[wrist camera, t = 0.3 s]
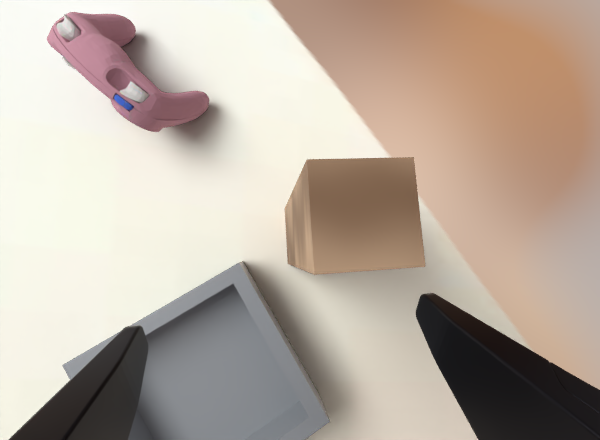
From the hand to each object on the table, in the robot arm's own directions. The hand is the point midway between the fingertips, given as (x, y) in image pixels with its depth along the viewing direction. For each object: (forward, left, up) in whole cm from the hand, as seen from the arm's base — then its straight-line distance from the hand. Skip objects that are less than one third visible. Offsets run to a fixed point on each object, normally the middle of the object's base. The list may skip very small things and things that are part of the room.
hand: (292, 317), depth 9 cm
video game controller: (+19, +1, -14) cm, 23 cm away
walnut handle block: (+2, -5, -14) cm, 15 cm away
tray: (-3, +7, -14) cm, 16 cm away
